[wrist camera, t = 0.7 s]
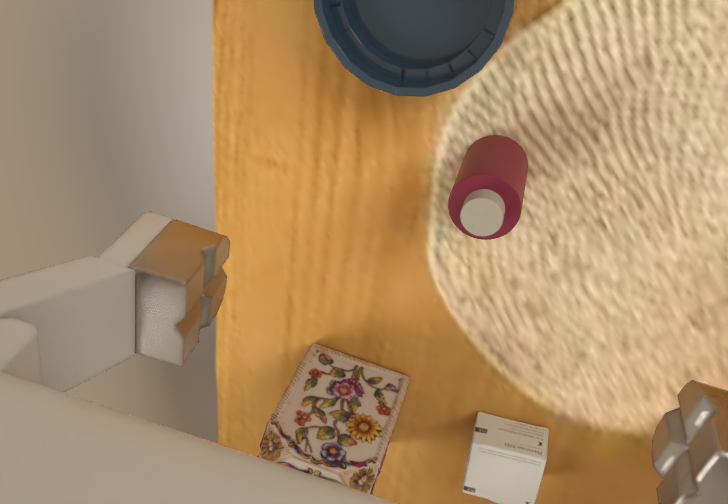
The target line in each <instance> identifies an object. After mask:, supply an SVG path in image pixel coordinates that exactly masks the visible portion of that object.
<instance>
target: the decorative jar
mask: <svg viewBox="0 0 728 504" xmlns="http://www.w3.org/2000/svg"><path fill="white" fill-rule="evenodd" d="M409 381H410V379H409V377H408V376H406V375H404V374H401V373H398V372H395V371H392V370H389V369H386V368H384V367H381V366H378V365H375V364H373V363H369V362H367V361H364V360H361V359H358V358H355V357H353V356H350V355H347V354H344V353H341V352H338V351H336V350H333V349H330V348H327V347H324V346H322V345H319V344H312V345H311V347H310V348H309V350H308V351H307V353H306V355H305V356H304V358H303V360H302V361H301V363H300V365H299V366H298V368H297V370H296V372H295V374H294V375H293V377H292V379H291V381H290V383H289V385H288V387H287V389H286V390H285V392H284V394H283V396H282V398H281V400H280V402H279V403H278V405H277V407H276V409H275V411H274V413H273V415H272V416H271V419H270V420H269V422H268V424H267V426H266V429H265V432H264V435H263V438H262V441H261V444H260V453H259V456H257V457H260V458H263V459H266V460H269V461H272V462H275V463H278V464H281V465H284V466H287V467H290V468H293V469H296V470H299V471H302V472H305V473H308V474H311V475H314V476H317V477H320V478H323V479H326V480H329V481H332V482H335V483H338V484H341V485H344V486H347V487H350V488H353V489H356V490H359V491H362V492H365V493H368V494H371V495H372V494H373V491H374V489H375V486H376V483H377V480H378V477H379V474H380V471H381V468H382V465H383V462H384V459H385V456H386V451H387V448H388V445H389V442H390V438H391V435H392V433H393V430H394V427H395V424H396V422H397V418H398V415H399V413H400V409H401V406H402V404H403V401H404V398H405V394H406V391H407V388H408V385H409Z"/></svg>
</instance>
